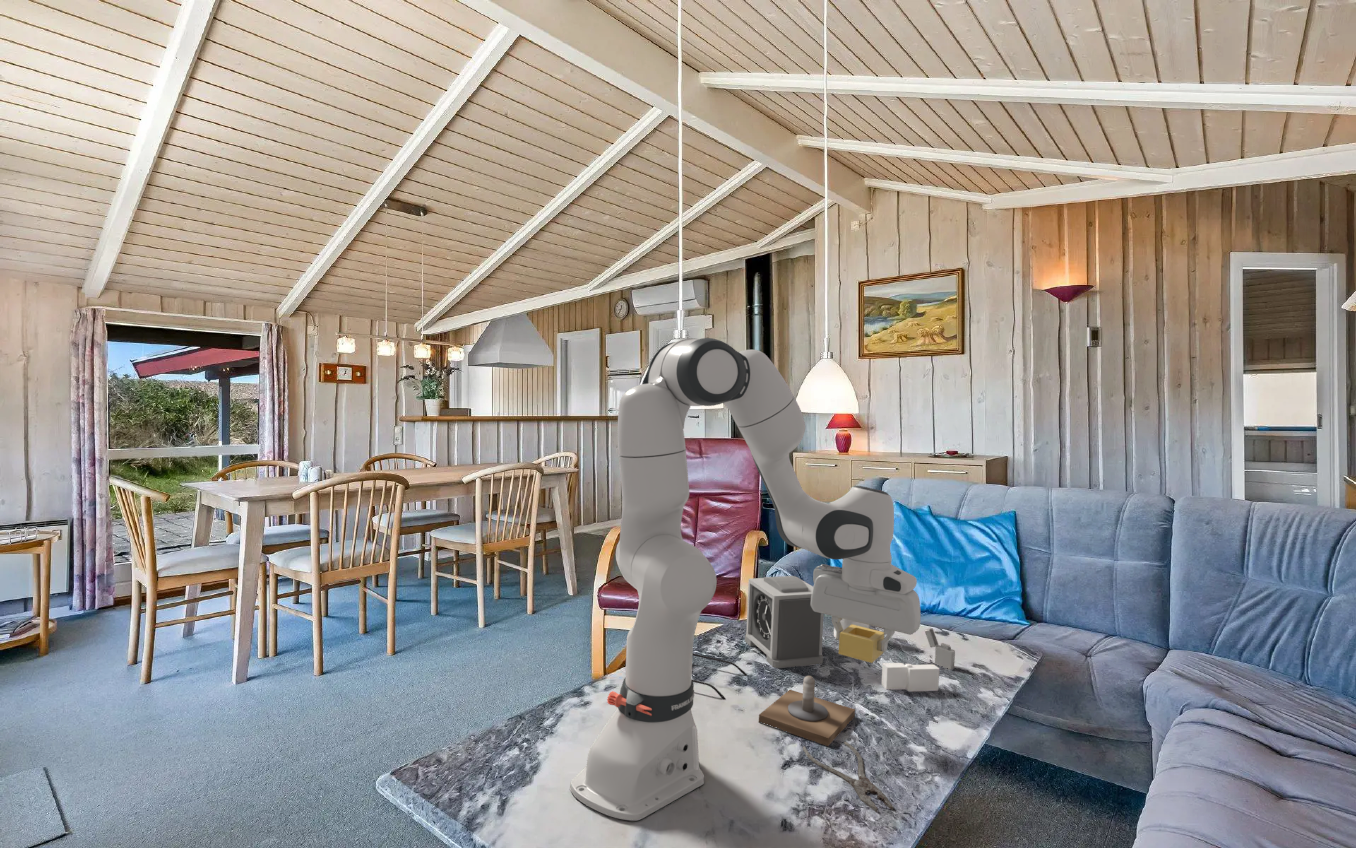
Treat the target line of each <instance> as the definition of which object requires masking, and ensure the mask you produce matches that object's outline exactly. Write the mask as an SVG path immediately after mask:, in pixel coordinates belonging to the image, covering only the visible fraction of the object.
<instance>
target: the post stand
mask: <svg viewBox="0 0 1356 848" xmlns="http://www.w3.org/2000/svg"><path fill="white" fill-rule="evenodd" d="M802 682H803V683H802V692H800V691H796V690H793V689H789V690H787V691H786V692H785V693H784V694H782V695H781V696H780V697H779V698H778V699H776V700H775V701H774V702H773V703H772V704H770V705H768V707H767V708H766V709H764V710H763V711H761V713H759V715H758V723H759V722H762V723H765V724H768V725H771V726H773V727H777V728H779V729H781V730H780V731H782V730H783V731H782V732H785V731H787V732H786V733H788V732H789V734H791V735H794V736H797V737H800V738H802V737H803V739H805V740H808V741H812V742H814V741H815V742H814V743H818V744H821V745H824V746H826V747H829V746H830V745H831V744H832V743H833V741H835V739H836V738H837V737H838V736H839V735H840V734H841V733H842V732H843V731H844V730H845V728H846V727H847V726H848V725H849V724H850V723H851V722H850V721H853V719H854V718H855V716H856V709H855V708H851V707H849V706H846V705H841V704H839V703H836V702H832V701H829V700H826V699H823V698H819V697H815V686H816V680H815V678H814V677H813V676H811V675H806V676H804V678H803V681H802ZM849 722H850V723H849ZM762 723H761V724H762ZM765 724H764V725H765ZM847 724H848V725H847ZM768 725H767V726H768ZM771 726H770V727H771ZM773 727H772V728H773ZM779 729H778V730H779ZM841 731H842V732H841Z"/></svg>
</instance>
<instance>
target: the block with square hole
mask: <svg viewBox="0 0 1356 848" xmlns="http://www.w3.org/2000/svg"><path fill="white" fill-rule="evenodd" d="M884 638H885V634H884V631H880V630H878V629H877V630H876V629H872V628H870V627H869V628H865V627H861V626H857V625H850V626H849V627H847V628H846V629H844V630H843V631H842V632H840V637H839V640H838V655H841V656H844V657H848V658H852V659H856V660H860V661H863V662H867V663H870V664H873V663H874V662H875V661H877V660H878V658H880V657H881V656H882V655H883V654H884V652H882V651H878V650H877V641H879V640H880V639H882V640H883V639H884Z"/></svg>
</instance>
